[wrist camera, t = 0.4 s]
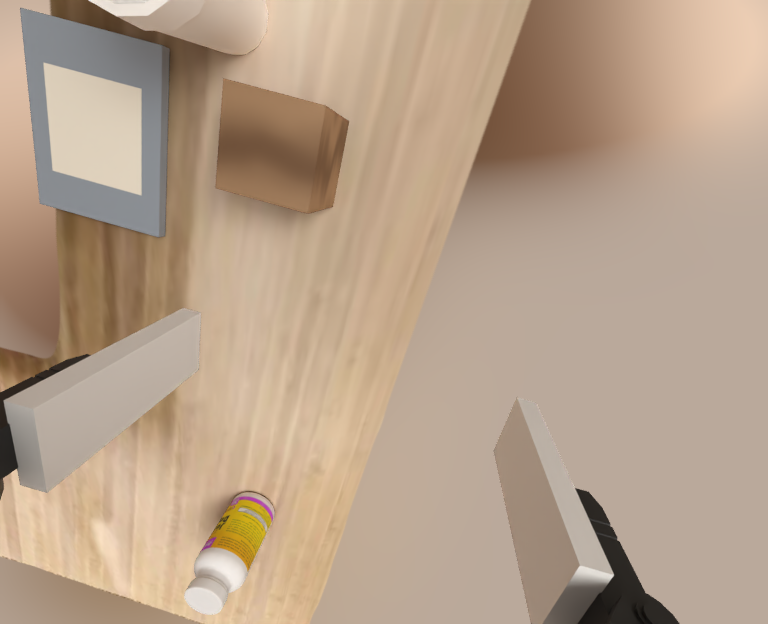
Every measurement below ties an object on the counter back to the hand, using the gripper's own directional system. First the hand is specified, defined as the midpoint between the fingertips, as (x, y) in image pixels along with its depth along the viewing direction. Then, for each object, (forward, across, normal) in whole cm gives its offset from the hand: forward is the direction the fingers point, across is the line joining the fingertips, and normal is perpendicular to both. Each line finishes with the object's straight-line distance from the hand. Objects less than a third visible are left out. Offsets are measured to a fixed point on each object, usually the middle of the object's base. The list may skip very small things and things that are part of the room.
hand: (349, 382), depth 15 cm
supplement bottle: (+25, -12, -42) cm, 50 cm away
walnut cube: (+25, -12, +7) cm, 29 cm away
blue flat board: (+25, -33, +5) cm, 42 cm away
